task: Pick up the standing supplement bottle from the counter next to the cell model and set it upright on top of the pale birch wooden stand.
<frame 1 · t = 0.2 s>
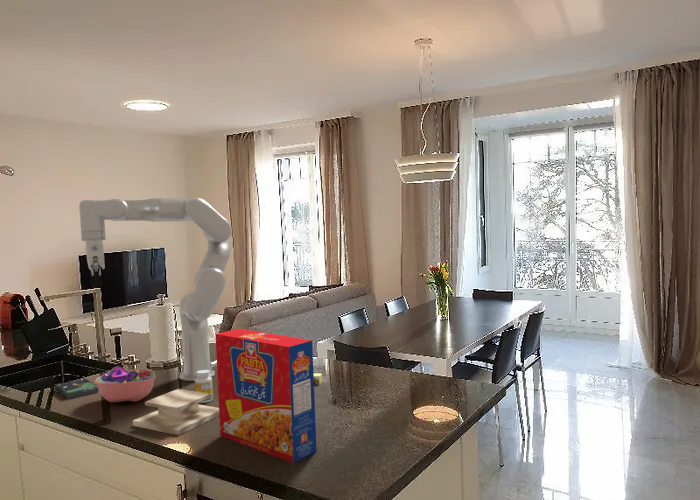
hand: (96, 286, 189), 37 cm above the counter, tool pointing down, fingers open, 9 cm apart
supplement bottle: (204, 401, 179), on the counter
disk drive: (76, 393, 194), on the counter
pasta box: (266, 444, 143), on the counter
platter: (290, 385, 194), on the counter
cell model: (127, 401, 181), on the counter
stand: (179, 419, 162), on the counter
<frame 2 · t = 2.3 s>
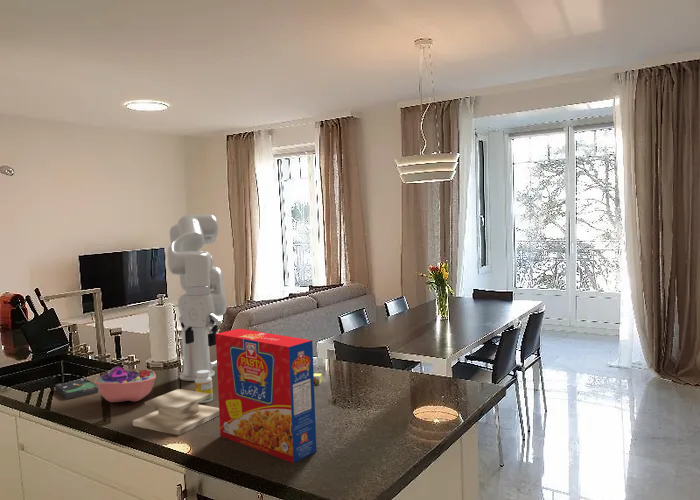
hand: (201, 344, 178), 19 cm above the counter, tool pointing down, fingers open, 9 cm apart
nothing on the counter moved.
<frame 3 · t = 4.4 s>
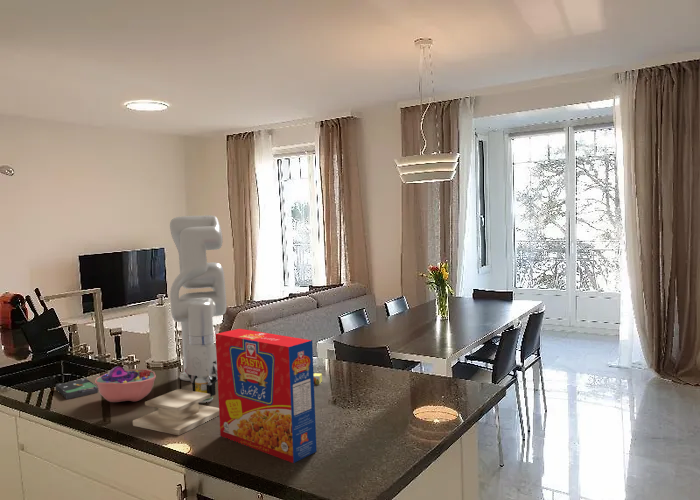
hand: (204, 394, 179), 2 cm above the counter, tool pointing down, fingers closed on supplement bottle, 5 cm apart
supplement bottle: (204, 401, 179), on the counter, touching gripper
everything else where it was.
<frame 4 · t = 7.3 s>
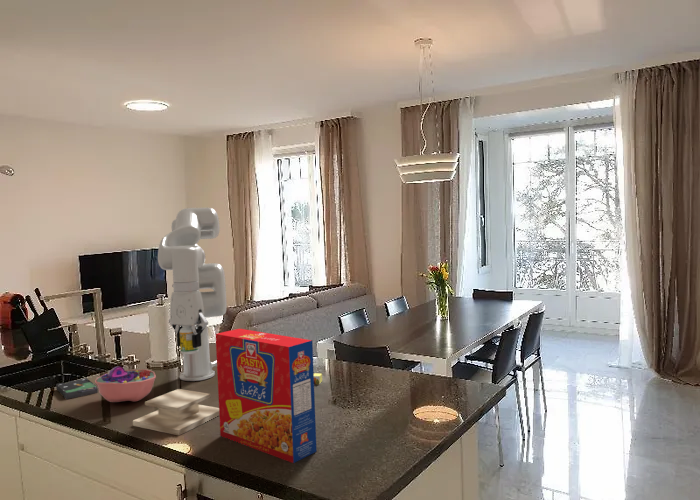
hand: (189, 345, 169), 20 cm above the counter, tool pointing down, fingers closed on supplement bottle, 5 cm apart
supplement bottle: (189, 352, 169), point 18 cm above the counter, touching gripper
everything else where it was.
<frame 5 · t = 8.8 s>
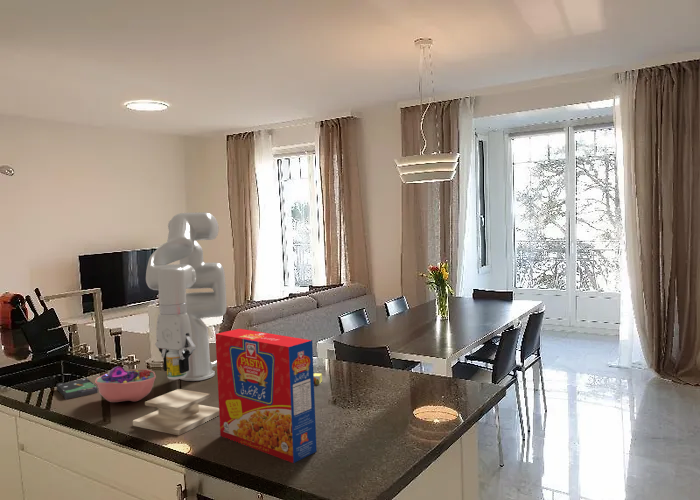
hand: (176, 370, 161), 15 cm above the counter, tool pointing down, fingers closed on supplement bottle, 5 cm apart
supplement bottle: (176, 377, 161), point 13 cm above the counter, touching gripper
everything else where it was.
when the fingers open (10 cm above the counter, at t = 10.0 s): supplement bottle drops 1 cm, resting on stand.
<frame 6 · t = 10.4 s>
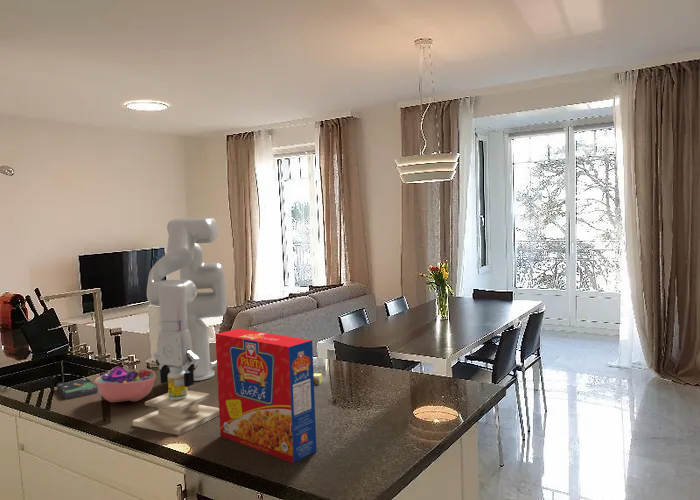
hand: (177, 383, 162), 11 cm above the counter, tool pointing down, fingers open, 9 cm apart
supplement bottle: (178, 398, 162), point 6 cm above the counter, touching stand
everything else where it was.
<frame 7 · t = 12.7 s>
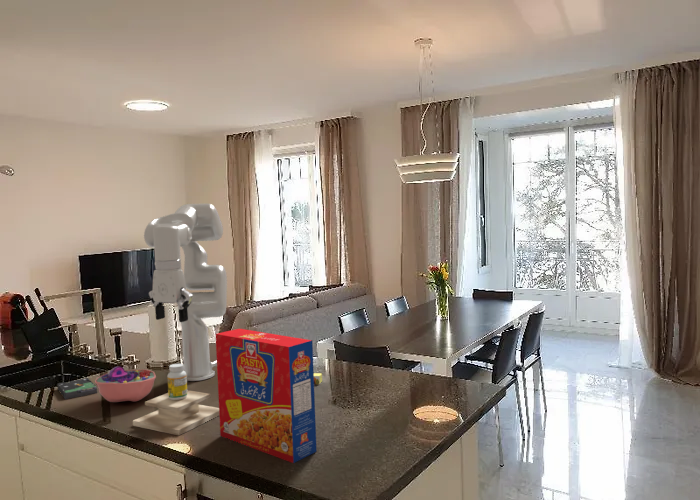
hand: (171, 320, 172), 28 cm above the counter, tool pointing down, fingers open, 9 cm apart
nothing on the counter moved.
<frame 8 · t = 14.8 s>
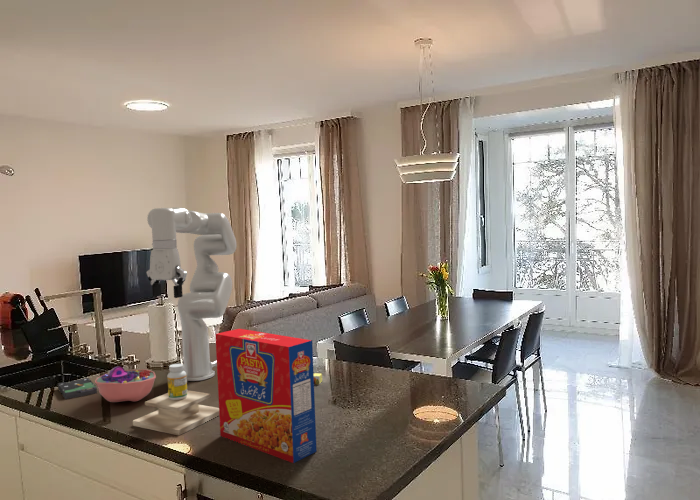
hand: (167, 296, 183), 33 cm above the counter, tool pointing down, fingers open, 9 cm apart
nothing on the counter moved.
at the end: supplement bottle inside the target area on the stand (0.3 cm from its centre), point 6.3 cm above the stand's base; supplement bottle tilted 0°; the gripper is holding nothing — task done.
